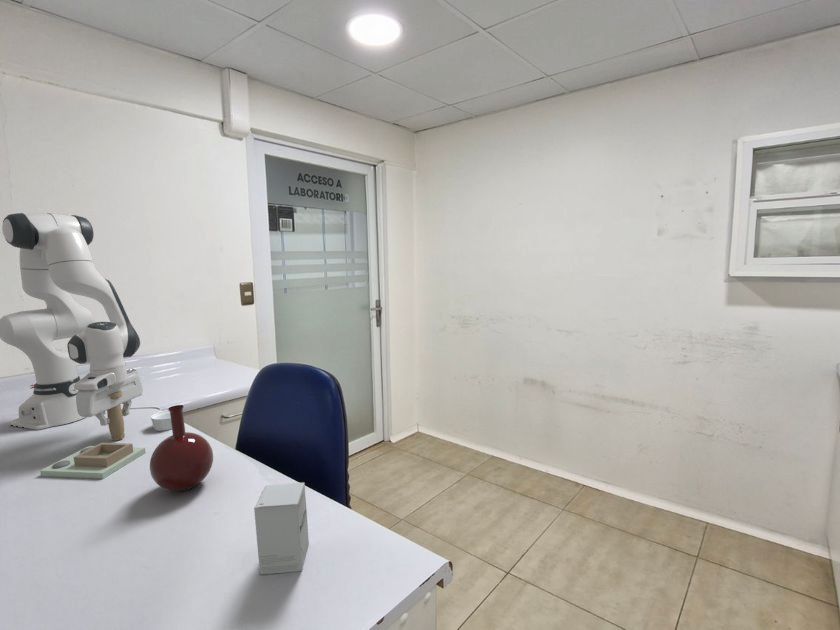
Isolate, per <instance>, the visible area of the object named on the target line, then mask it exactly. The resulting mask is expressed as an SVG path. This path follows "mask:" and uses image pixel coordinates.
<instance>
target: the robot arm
mask: <svg viewBox="0 0 840 630" xmlns="http://www.w3.org/2000/svg"><path fill="white" fill-rule="evenodd" d="M92 225H93V224H91V222H90V220H88V219H87V218H85V217H84V216H79V215H75V214H72V215H68V214H61V213H53V212H52V213H48V212H47V213H23V212H17V213H11V214H7V215H6V217H5V218H3V221H2V225H1V228H2V229H1V231H2V235H3V236H4V239H5V241H6V242H7V244H9V245H10V246H12V247H14V248H18V249H19V271H20V277H21V278H20V279H21V286H22V290H23V292H24V293H25V294H26V295H27V296H29V297H31V298H35V299H37V300H41V301H44V302H45V304H46V305H45V306H46V308H40V309H32V310H25V311H24V310H22V311H18V312H14V313H10V314H5V315H3V316H2V317H1V318H0V340H1V341H2V342H4V343H5V344H7V345H9V346H12V347H15V348H16V349H19V350H20V351H22V352H23V353H24V355H26V356H27V357H28V359H29V361H30V363H31V364H32V368H33V373H34V377H35V382H36V383H35V384H31V385H30V388H29V389H33V391H32V392H33V393H32V395H31V396H29V398H27V399H26V400H25V401H24V402H23V403H21V404H20V405H19V407H18V418H16V419H14V420H12V421H11V422H10V425H13V426H12V427H16V426H18V427H17V428H22V427H24V429H29V430H35V431H36V430H43V429H44V430H45V429H48V428H51V427H56V426H62V425H66V424H70V423H73V422H77V421H80V420H82V419H84V418H92V417H96V418H97V419H98V420H99V422H100V423H99V424H100V426H103V427H104V426H107V425H108V424H109V423H110V421H109V418H108V417H106V412H107V410H108V409H111V408H113V407H115V406H117V405H121V404H122V408H121V410H122V415H123V417H126V416H129V415H130V414H131V412H130V408H131V406H132V400H133V399H135V398H138V397H140V396H143V391H144V390H143V385H142V380H141V378H140V376H139V371H138V370H137V369H135V368H129V369H127V364H126V361H125V358H132V356H134V355H135V354H136V352H137V351H138V350H139V349H140V346H141V340H140V336H139V334H138V332H137V330H136V329H135V328H134V326H133V324H132V323H131V321H130V319H129V316H128V314H127V311H126V310H125V307H124V305H123V304H122V301H121V299H120V297H119V294H118V293H117V291H116V289H115V287H114V284H112V282H111V281H110V280H109V279H107V278H104V277H103V276H102V275H101V274H100V272H99V271H98V270H97V268H96V266H95V263H94V260H93V257H92V256H93V255H92V253H91V250H90V248H89V245H90V244H92V242H93V239H94V234H95V233H94V228H93V226H92ZM71 294H72V295H76V296H80V297H81V296H82V297H86V298H89V299H93V300H94V301H97V302H98V303H100V304H101V306H103V309H104V311H105V313H106V315H107V317H108V320H109V321H95V316H94V314H93V313H92V311H91V310H90V309H89V308H87V307H85V306H83V305H81V304H80V303H79V302H77V301H76V300H75V299H74V298H73V296H72V295H71ZM64 339H69V341H68V342H67V345H66V347H67V350H63V349H58V348H55V347H54V344H53V341H56V340H57V341H58V340H64ZM77 364H80V365H89V373H87V374H86V375H85V376H83V377H82V378H81V376H79V374H78V369H77V368H78V367H77ZM118 391H122V396H121V397H119V398H118V399H115V400H113V399H110V396H108V395H110V394H113V393H116V392H118Z"/></svg>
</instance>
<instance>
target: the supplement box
mask: <svg viewBox="0 0 840 630" xmlns="http://www.w3.org/2000/svg"><path fill="white" fill-rule="evenodd" d="M306 497H307V496H306V485H305V482H293V483H282V484H281V483H280V484H270V485H269V484H267V485H265V486H264V487H263V490H262V492H261V494H260V496H259V498H258V500H257V502H256V504H255V506H254V507H253V508H254V509H253V511H254V521H255V523H254V524H255V534H256V542H257V554H258V556H257V557H258V566H259V567H258V568H259V575H272V574H273V575H274V574H284V573H285V574H286V573H297V572H301V571H302V570H303V566H304V562H305V558H306V555H307V550H308V547H309V544H310V543H309V542H310V541H309V540H310V539H309V528H308V527H309V525H308V512H307V511H308V510H307V509H308V508H307V498H306Z"/></svg>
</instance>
